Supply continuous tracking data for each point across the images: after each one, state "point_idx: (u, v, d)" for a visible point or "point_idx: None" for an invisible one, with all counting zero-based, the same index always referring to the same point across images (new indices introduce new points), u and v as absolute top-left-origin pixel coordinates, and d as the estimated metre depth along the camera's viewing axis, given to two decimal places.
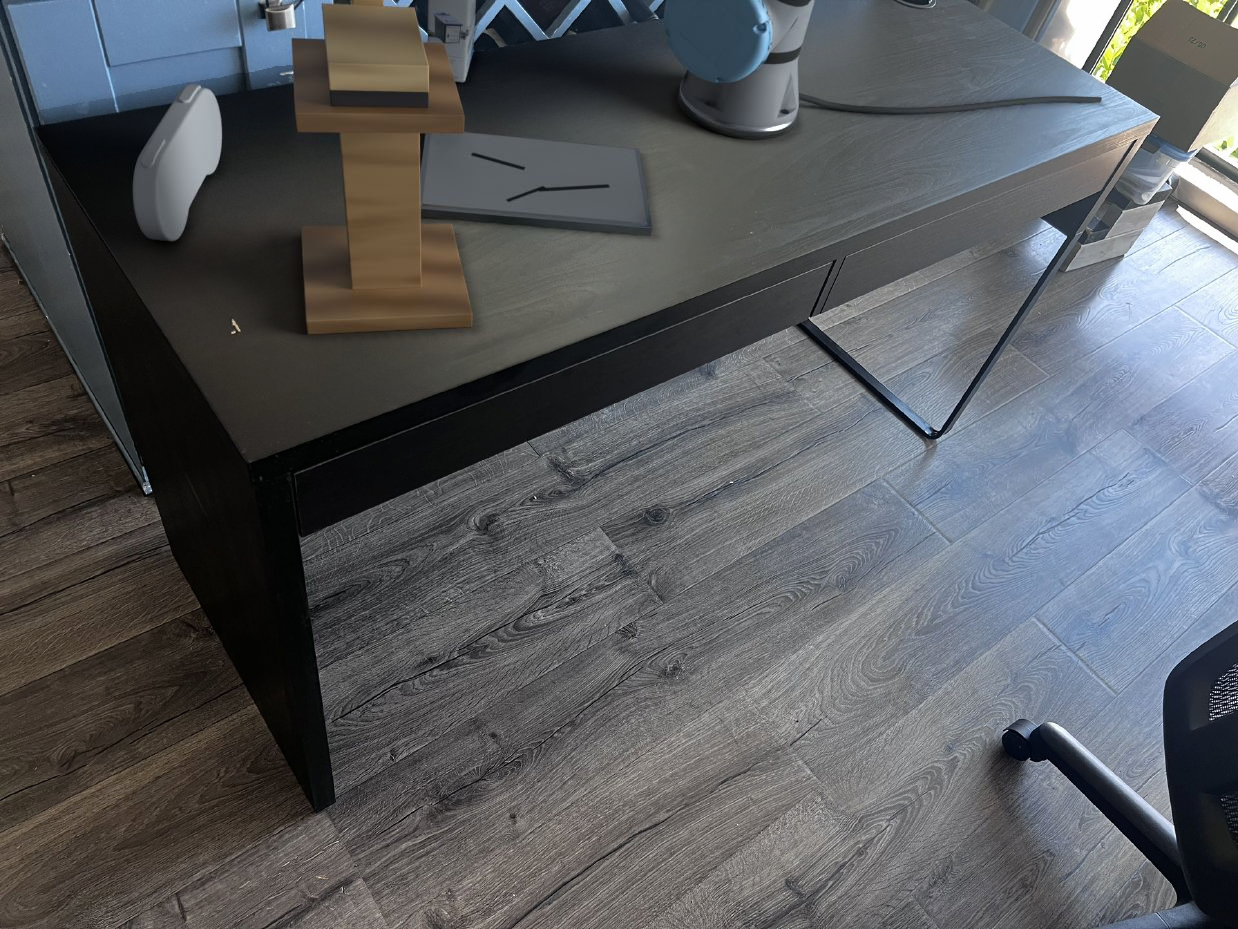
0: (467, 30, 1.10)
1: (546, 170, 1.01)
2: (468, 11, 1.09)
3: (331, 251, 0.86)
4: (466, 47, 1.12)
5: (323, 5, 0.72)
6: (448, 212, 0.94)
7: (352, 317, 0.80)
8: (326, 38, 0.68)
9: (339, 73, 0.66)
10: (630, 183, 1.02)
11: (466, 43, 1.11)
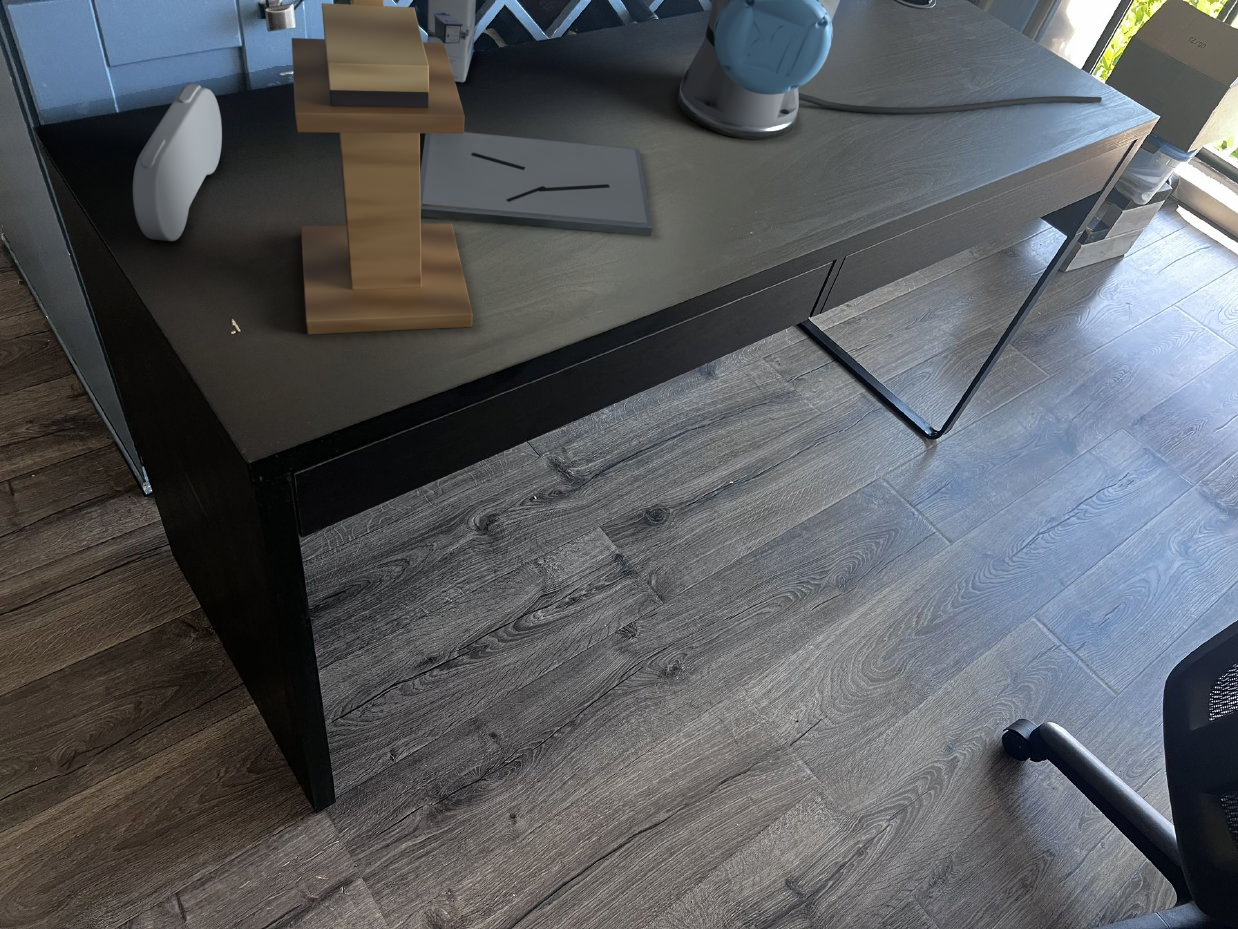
0: (467, 30, 1.10)
1: (546, 170, 1.01)
2: (468, 11, 1.09)
3: (331, 251, 0.86)
4: (466, 47, 1.12)
5: (323, 5, 0.72)
6: (448, 212, 0.94)
7: (352, 317, 0.80)
8: (326, 38, 0.68)
9: (339, 73, 0.66)
10: (630, 183, 1.02)
11: (466, 43, 1.11)
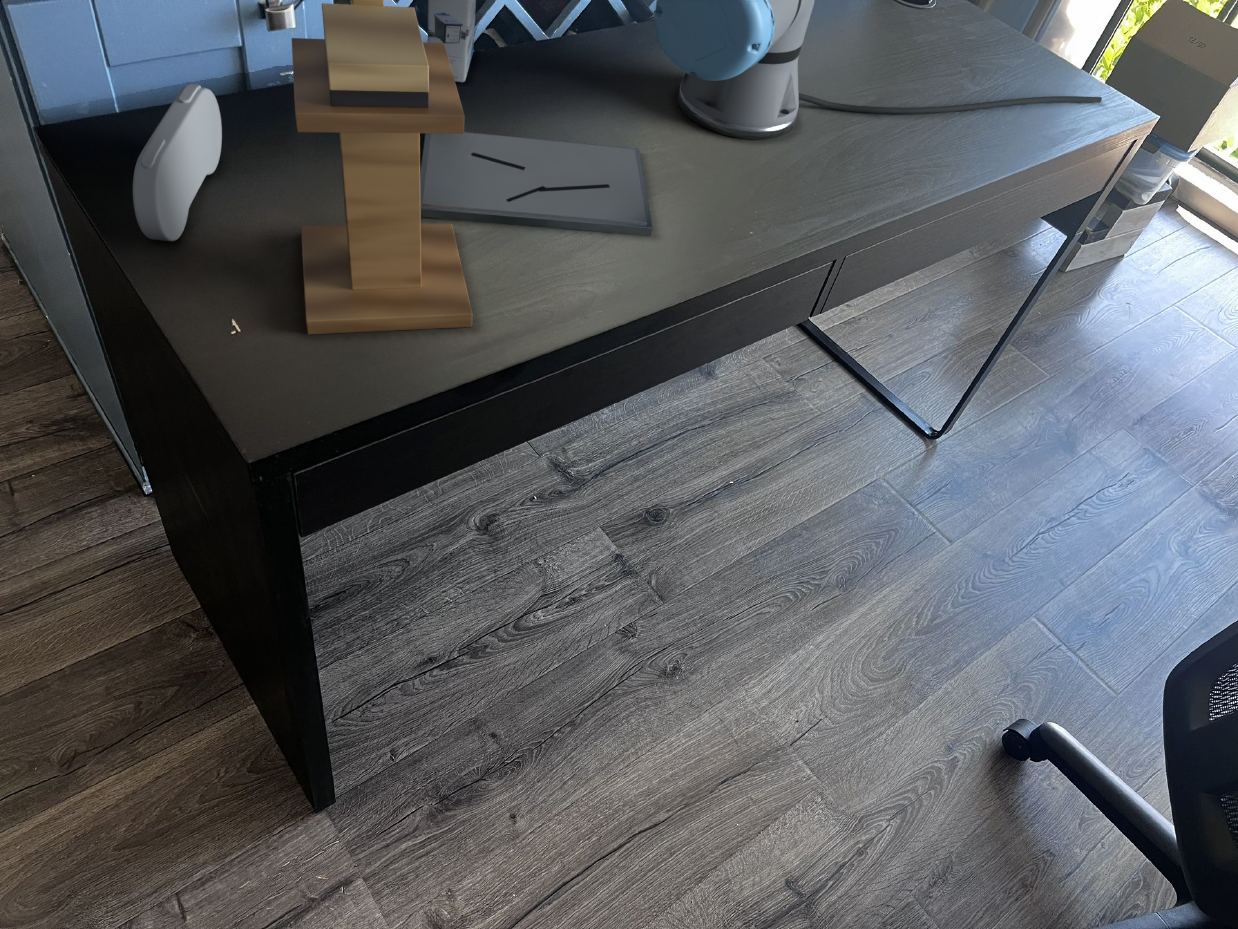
0: (467, 30, 1.10)
1: (546, 170, 1.01)
2: (468, 11, 1.09)
3: (331, 251, 0.86)
4: (466, 47, 1.12)
5: (323, 5, 0.72)
6: (448, 212, 0.94)
7: (352, 317, 0.80)
8: (326, 38, 0.68)
9: (339, 73, 0.66)
10: (630, 183, 1.02)
11: (466, 43, 1.11)
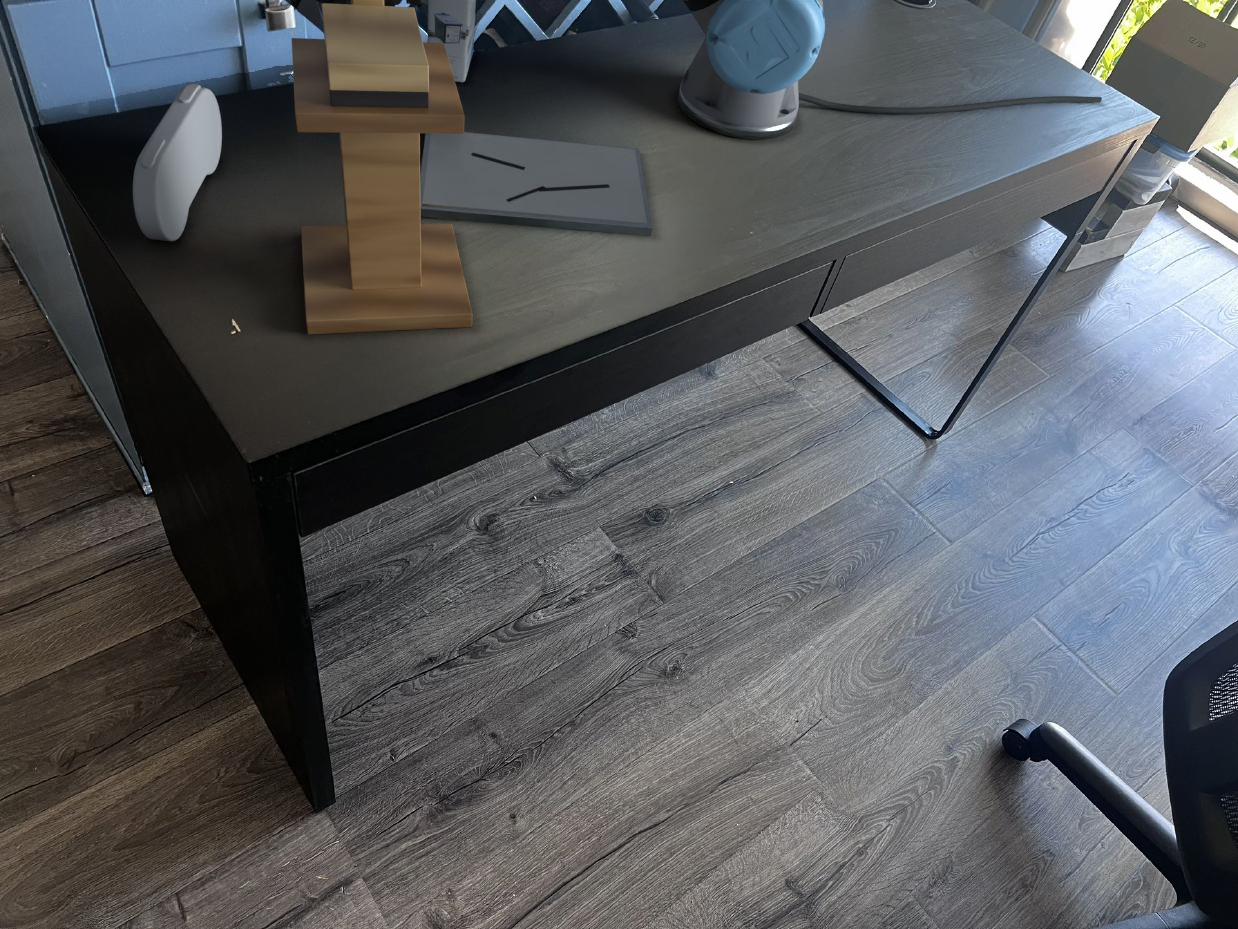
0: (467, 30, 1.10)
1: (546, 170, 1.01)
2: (468, 11, 1.09)
3: (331, 251, 0.86)
4: (466, 47, 1.12)
5: (323, 5, 0.72)
6: (448, 212, 0.94)
7: (352, 317, 0.80)
8: (326, 38, 0.68)
9: (339, 73, 0.66)
10: (630, 183, 1.02)
11: (466, 43, 1.11)
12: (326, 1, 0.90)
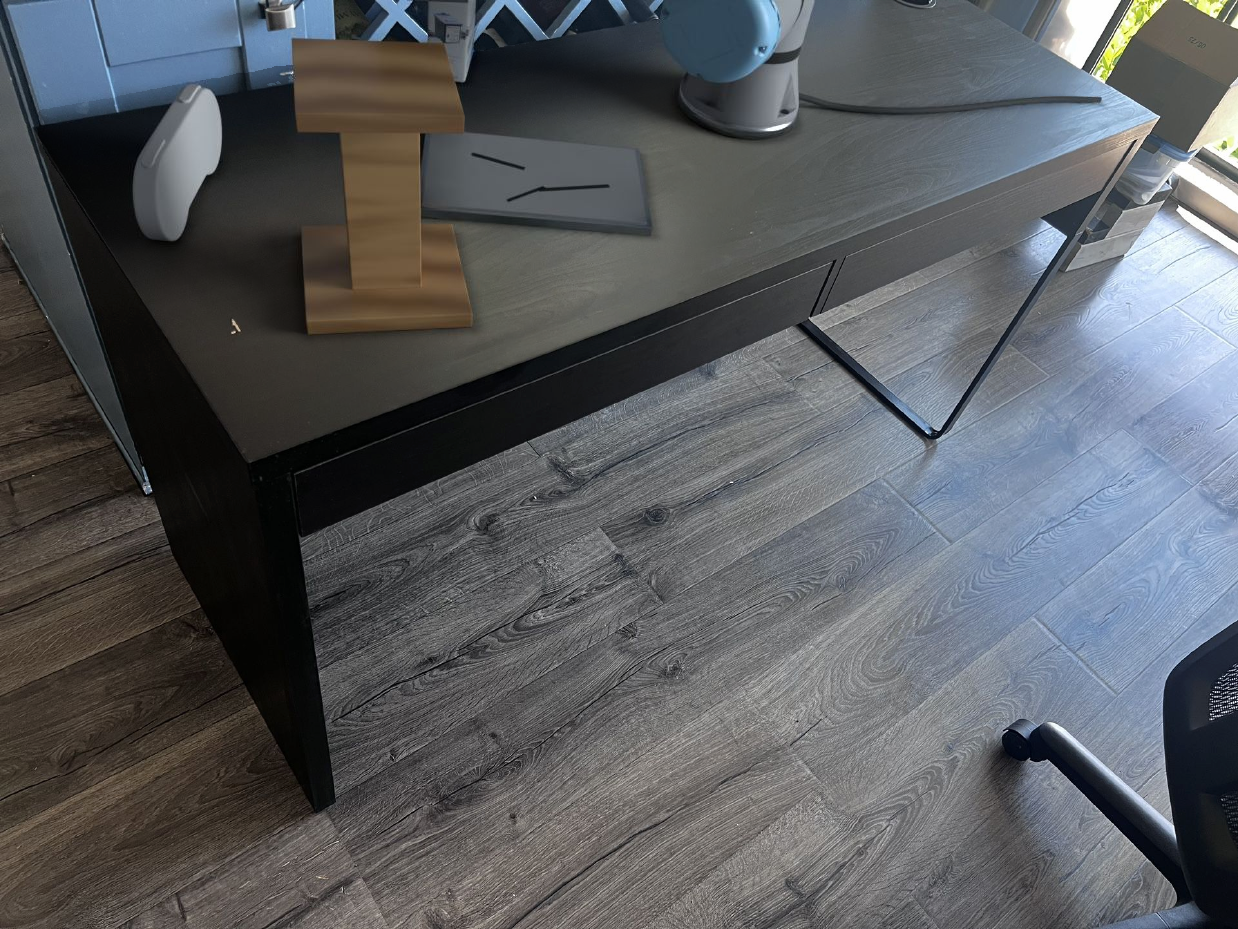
0: (467, 30, 1.10)
1: (546, 170, 1.01)
2: (468, 11, 1.09)
3: (331, 251, 0.86)
4: (466, 47, 1.12)
5: None
6: (448, 212, 0.94)
7: (352, 317, 0.80)
8: None
9: None
10: (630, 183, 1.02)
11: (466, 43, 1.11)
12: None
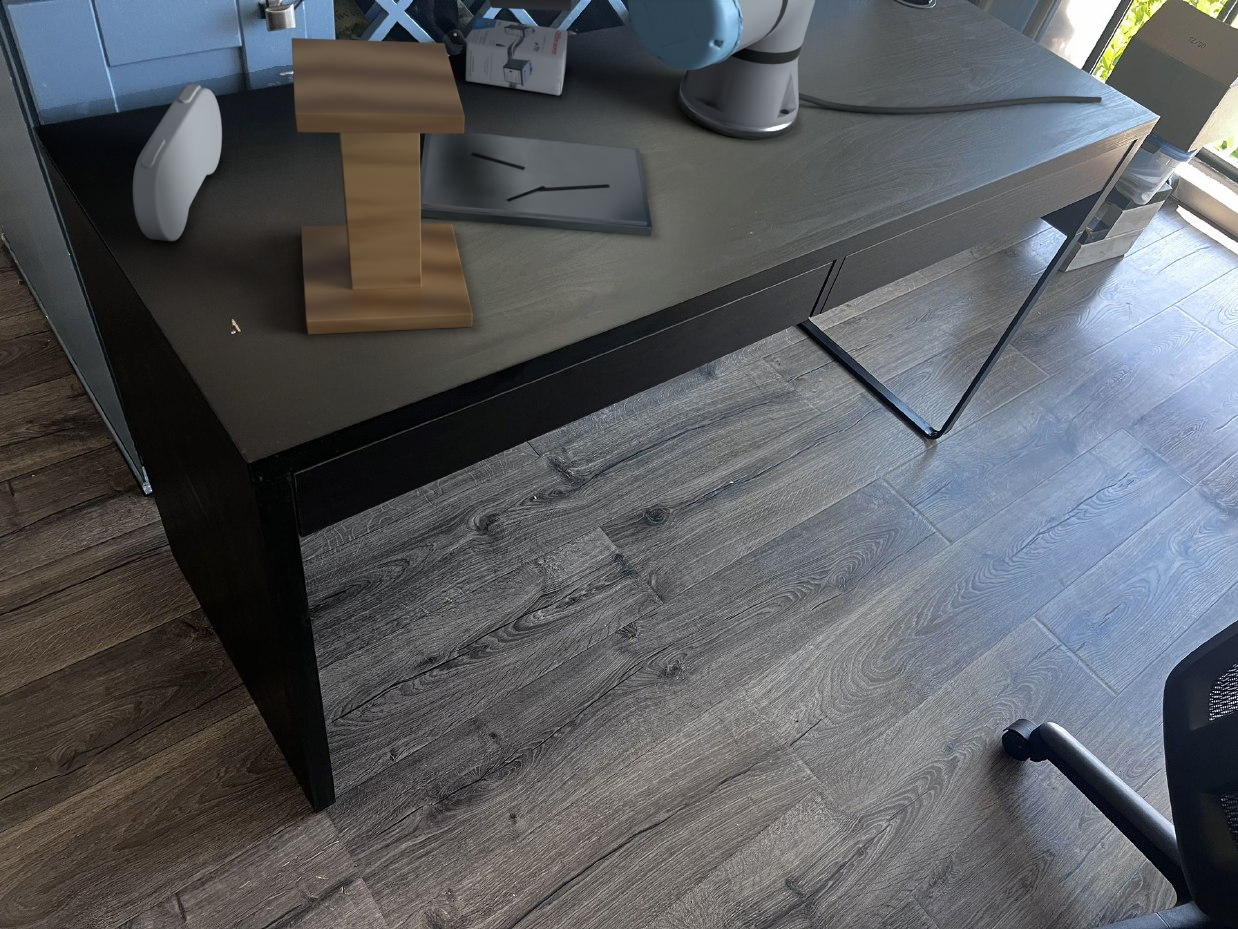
0: None
1: (546, 170, 1.01)
2: None
3: (331, 251, 0.86)
4: (500, 85, 1.15)
5: None
6: (448, 212, 0.94)
7: (352, 317, 0.80)
8: None
9: None
10: (630, 183, 1.02)
11: None
12: None
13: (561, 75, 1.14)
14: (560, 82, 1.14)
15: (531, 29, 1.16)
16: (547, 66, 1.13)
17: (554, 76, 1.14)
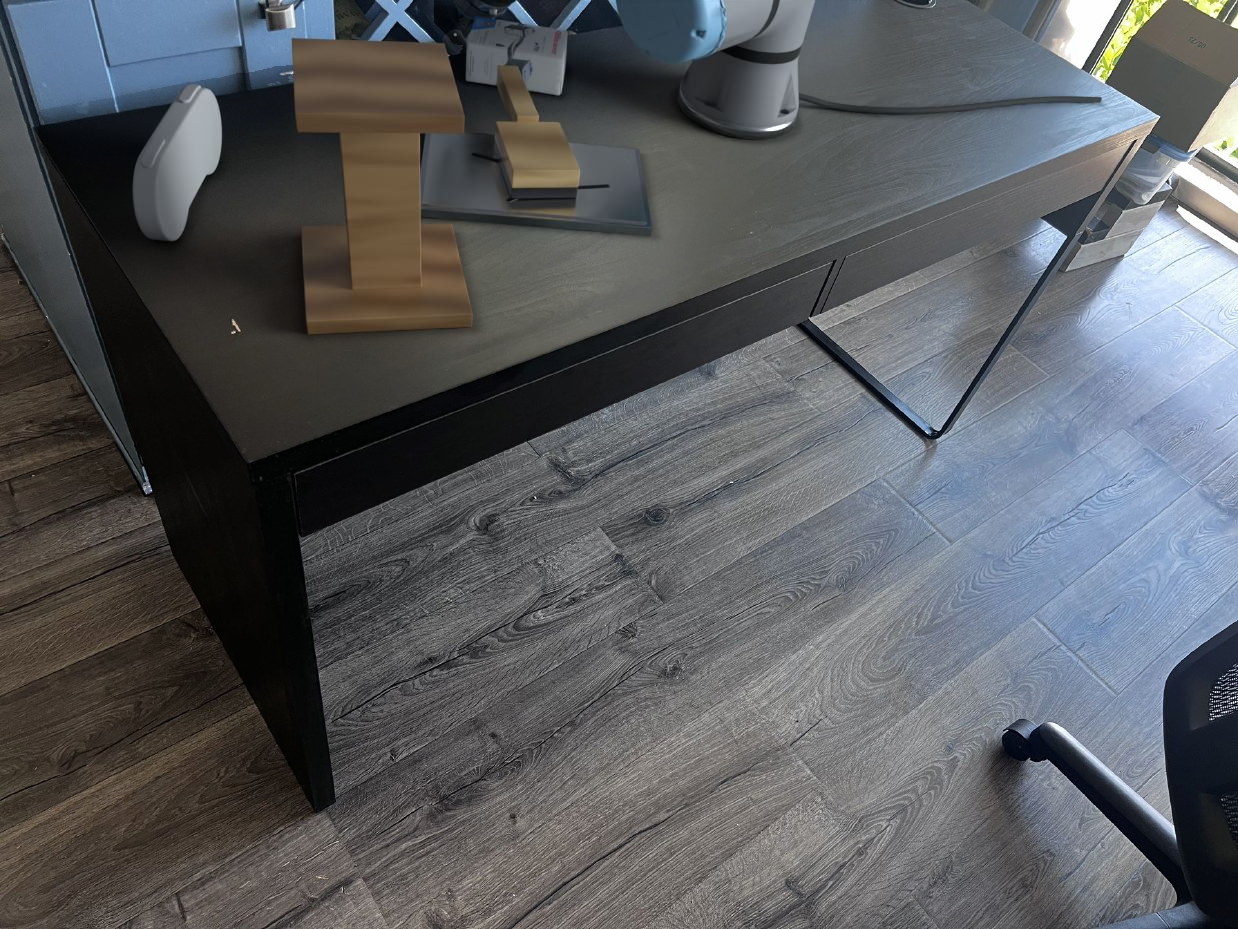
0: None
1: None
2: None
3: (331, 251, 0.86)
4: None
5: (497, 123, 1.00)
6: (448, 212, 0.94)
7: (352, 317, 0.80)
8: (507, 150, 0.96)
9: (519, 177, 0.95)
10: (630, 183, 1.02)
11: None
12: None
13: (561, 75, 1.14)
14: (560, 82, 1.14)
15: (531, 29, 1.16)
16: (547, 66, 1.13)
17: (554, 76, 1.14)
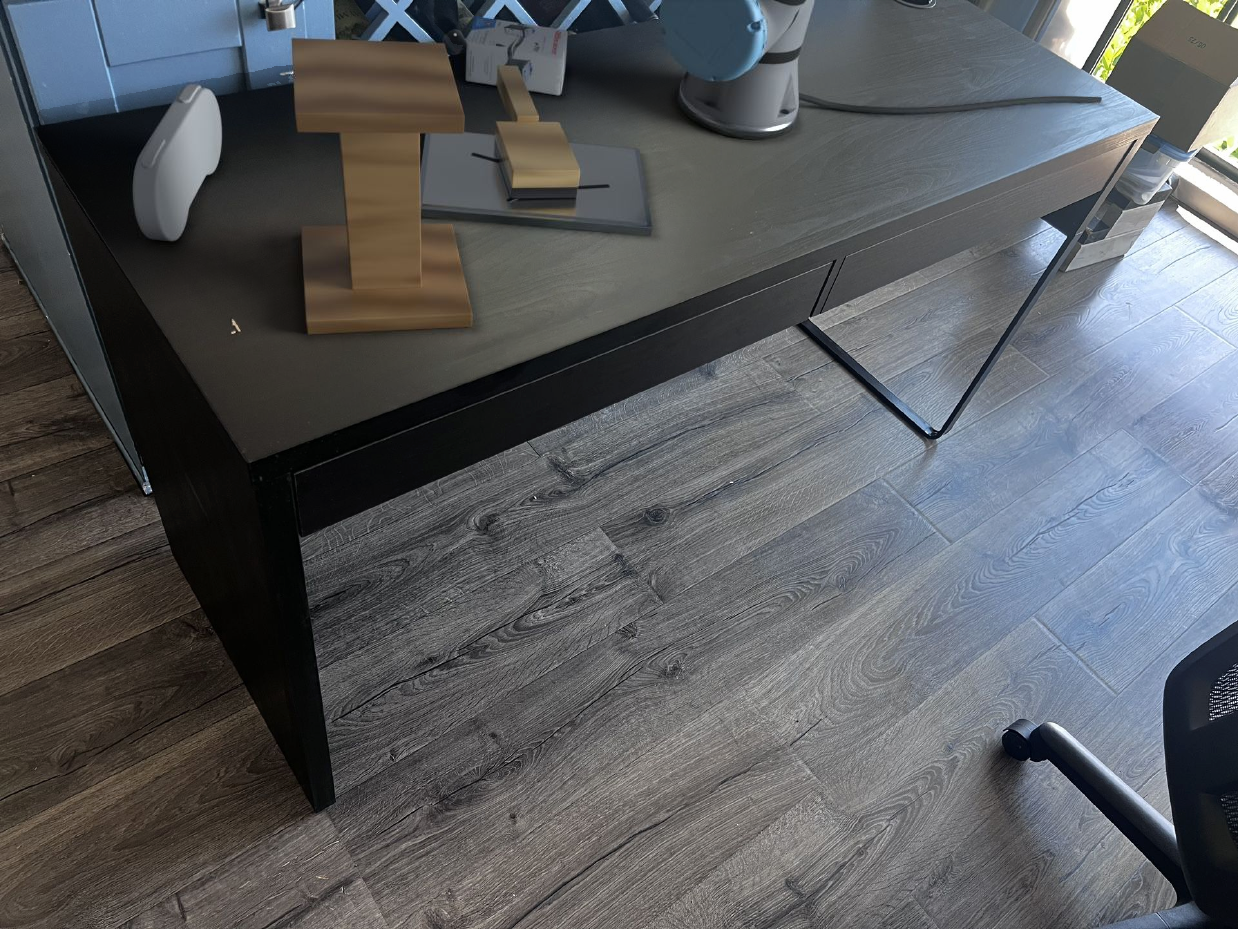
0: None
1: None
2: None
3: (331, 251, 0.86)
4: None
5: (497, 123, 1.00)
6: (448, 212, 0.94)
7: (352, 317, 0.80)
8: (507, 150, 0.96)
9: (519, 177, 0.95)
10: (630, 183, 1.02)
11: None
12: None
13: (561, 75, 1.14)
14: (560, 82, 1.14)
15: (531, 29, 1.16)
16: (547, 66, 1.13)
17: (554, 76, 1.14)
